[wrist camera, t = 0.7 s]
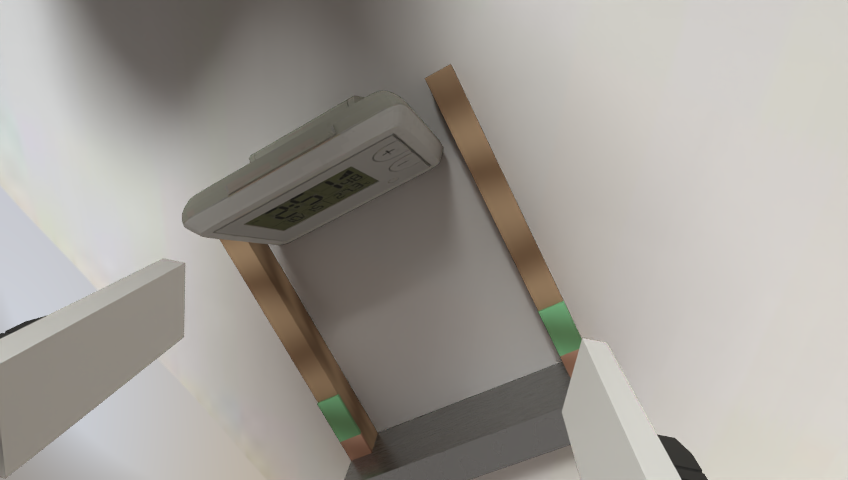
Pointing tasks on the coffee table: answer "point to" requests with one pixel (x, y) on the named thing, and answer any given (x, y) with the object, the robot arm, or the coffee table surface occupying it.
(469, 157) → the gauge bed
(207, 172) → the coffee table surface
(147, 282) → the robot arm
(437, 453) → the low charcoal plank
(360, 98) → the digital clock
